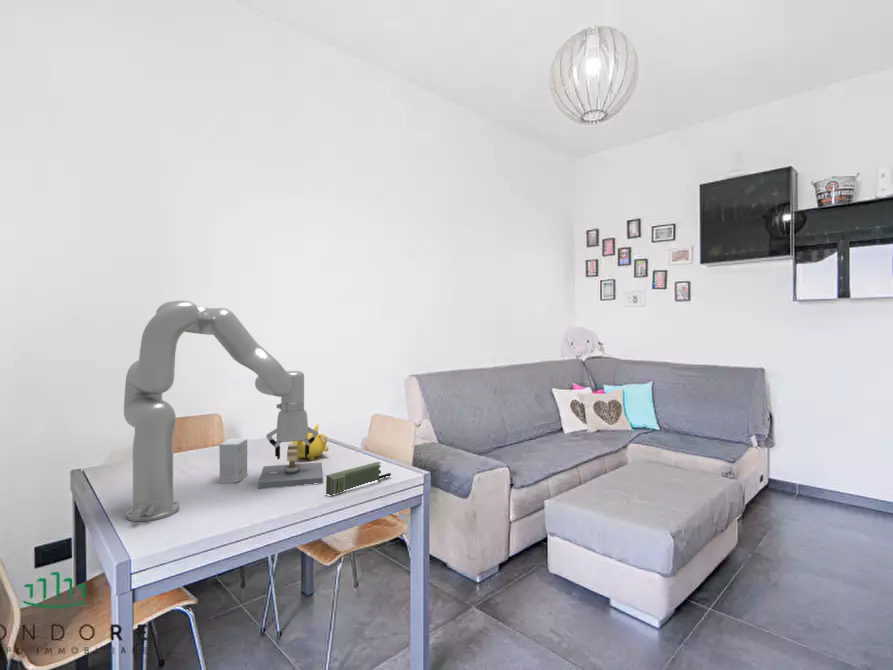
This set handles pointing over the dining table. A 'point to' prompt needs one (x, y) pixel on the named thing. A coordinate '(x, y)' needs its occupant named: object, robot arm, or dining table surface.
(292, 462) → the t key
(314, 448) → the teapot
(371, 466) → the handheld radio
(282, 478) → the plate
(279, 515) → the dining table surface
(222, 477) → the small box
